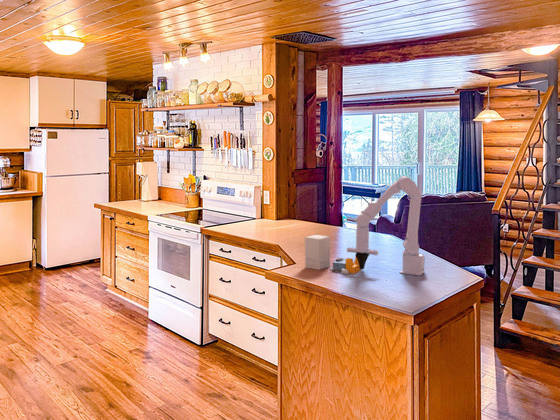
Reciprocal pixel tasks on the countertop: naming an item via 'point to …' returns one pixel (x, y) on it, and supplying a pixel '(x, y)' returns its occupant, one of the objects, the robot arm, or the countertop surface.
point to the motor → (340, 266)
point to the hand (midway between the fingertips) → (362, 268)
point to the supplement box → (317, 252)
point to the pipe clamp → (352, 265)
